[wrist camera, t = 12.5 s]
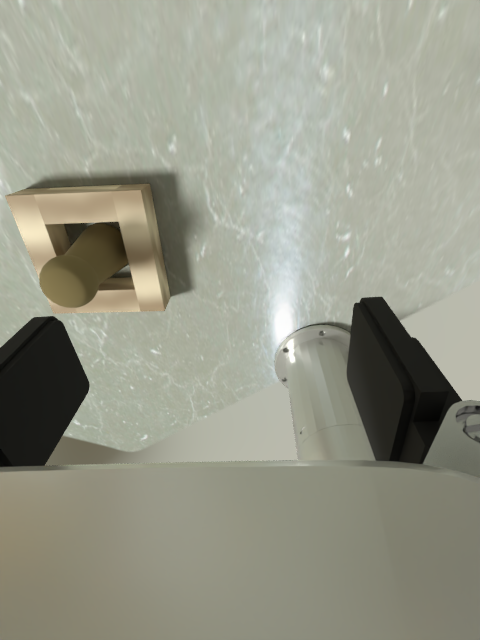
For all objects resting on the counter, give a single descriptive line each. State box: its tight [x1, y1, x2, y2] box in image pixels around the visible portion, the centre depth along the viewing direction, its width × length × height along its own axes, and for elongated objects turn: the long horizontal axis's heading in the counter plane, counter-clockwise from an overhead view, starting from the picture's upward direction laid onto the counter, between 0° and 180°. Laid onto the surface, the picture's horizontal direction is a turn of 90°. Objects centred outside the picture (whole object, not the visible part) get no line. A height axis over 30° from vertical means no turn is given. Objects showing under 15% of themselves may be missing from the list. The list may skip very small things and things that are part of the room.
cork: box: [39, 223, 128, 308], centre depth 35 cm, size 6×6×11 cm
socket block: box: [5, 184, 170, 313], centre depth 38 cm, size 14×14×4 cm
